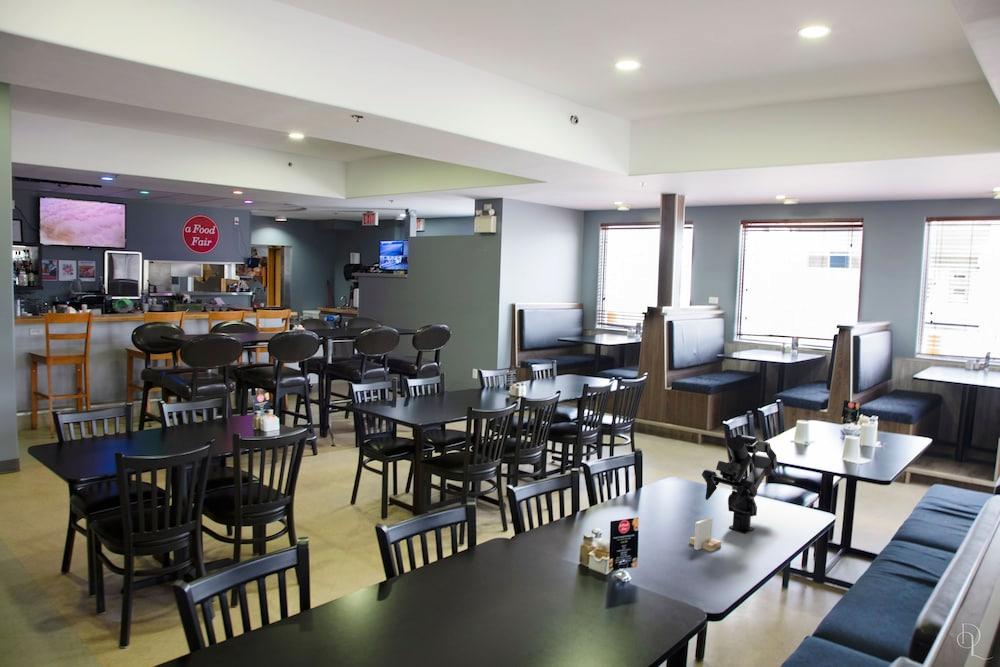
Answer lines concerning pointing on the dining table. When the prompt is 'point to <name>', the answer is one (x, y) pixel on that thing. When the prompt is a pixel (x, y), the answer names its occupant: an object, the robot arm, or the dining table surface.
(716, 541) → the oak holder
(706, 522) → the white board
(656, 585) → the dining table surface
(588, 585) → the dining table surface
